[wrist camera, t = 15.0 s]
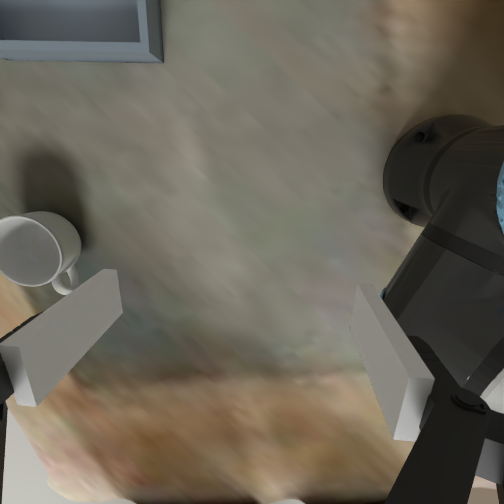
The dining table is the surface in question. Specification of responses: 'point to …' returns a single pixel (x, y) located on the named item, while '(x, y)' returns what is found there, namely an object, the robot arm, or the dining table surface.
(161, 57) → the box
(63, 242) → the teacup
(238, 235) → the dining table surface
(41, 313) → the robot arm
